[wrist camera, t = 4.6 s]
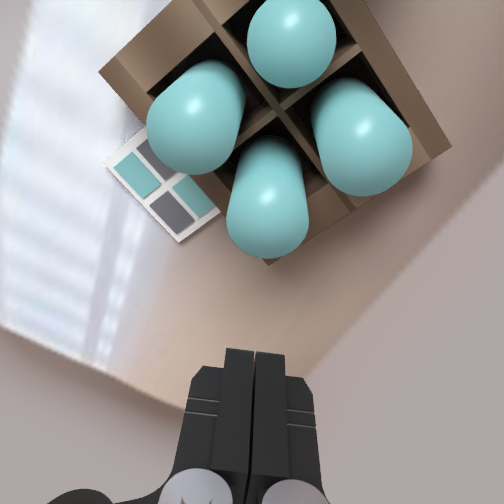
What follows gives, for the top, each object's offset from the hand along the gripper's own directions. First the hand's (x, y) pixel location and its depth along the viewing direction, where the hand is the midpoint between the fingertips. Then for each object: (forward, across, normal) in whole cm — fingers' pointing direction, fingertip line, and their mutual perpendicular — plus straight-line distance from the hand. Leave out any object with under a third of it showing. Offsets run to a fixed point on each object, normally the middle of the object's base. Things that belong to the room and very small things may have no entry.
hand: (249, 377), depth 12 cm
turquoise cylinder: (+17, -4, -4) cm, 18 cm away
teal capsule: (+19, 0, -7) cm, 21 cm away
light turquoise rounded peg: (+17, 0, 0) cm, 17 cm away
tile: (+20, +6, +2) cm, 21 cm away
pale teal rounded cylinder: (+17, +3, -4) cm, 18 cm away
